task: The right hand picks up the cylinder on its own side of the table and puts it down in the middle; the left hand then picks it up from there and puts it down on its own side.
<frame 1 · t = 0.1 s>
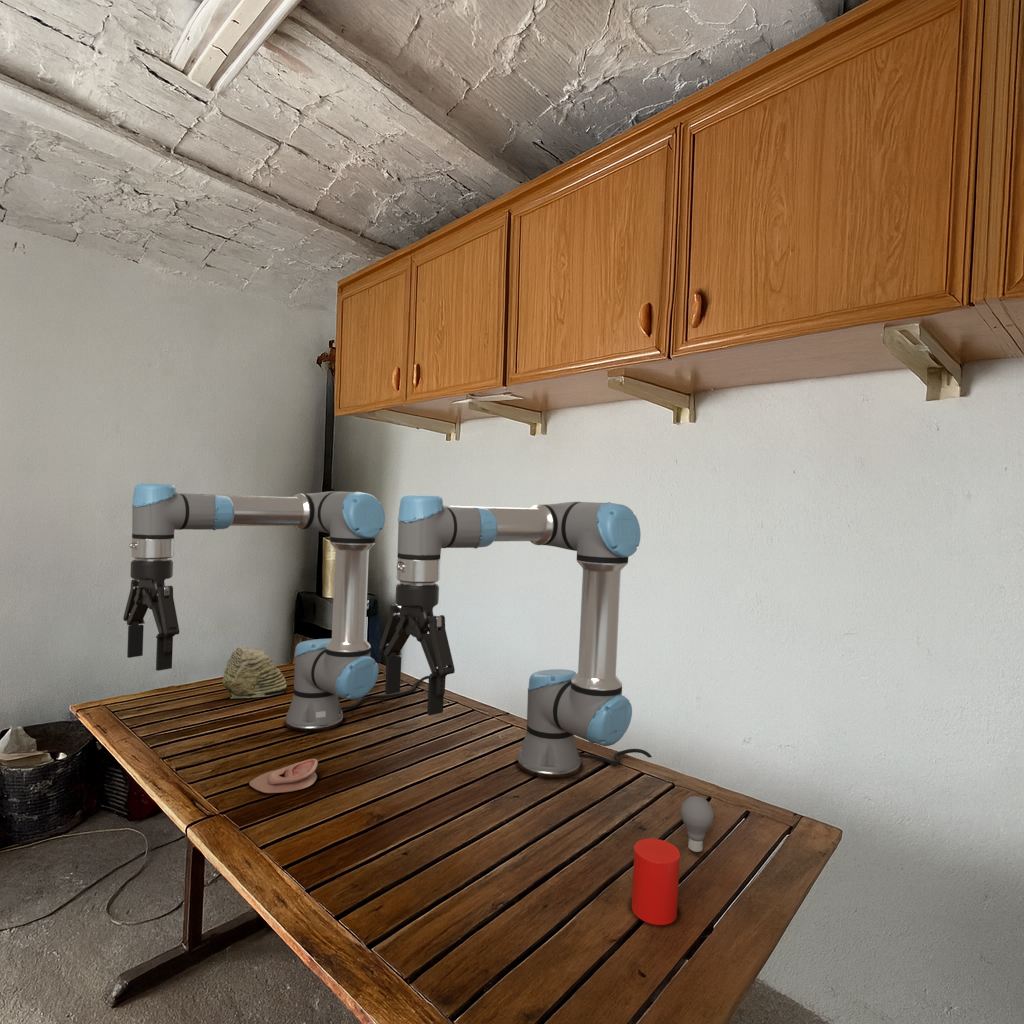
left hand: (148, 662, 129), 28 cm above the table, tool pointing down, fingers open, 13 cm apart
right hand: (412, 702, 111), 28 cm above the table, tool pointing down, fingers open, 13 cm apart
light bulb: (695, 851, 119), on the table
anatomical model: (283, 783, 139), on the table
cylinder: (654, 910, 101), on the table
fossil: (254, 694, 198), on the table
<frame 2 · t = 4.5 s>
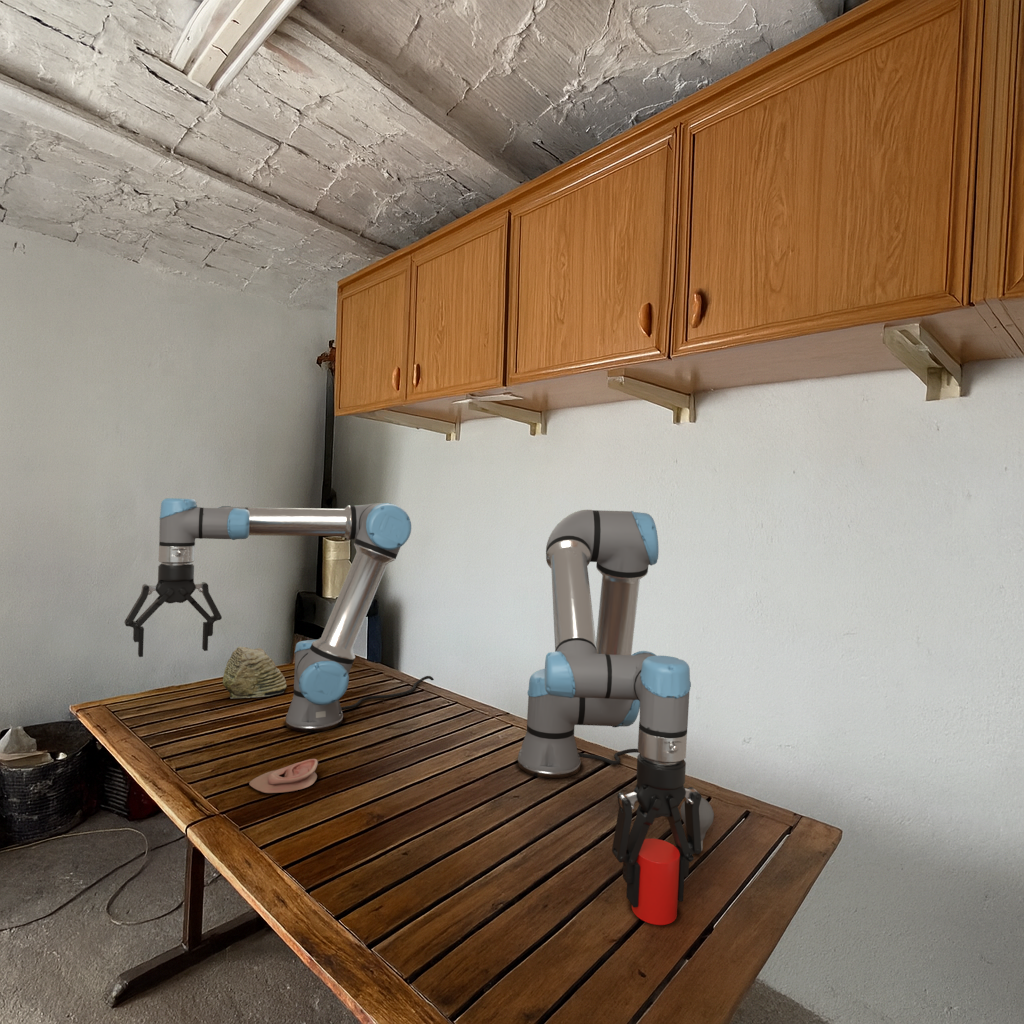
left hand: (173, 652, 150), 25 cm above the table, tool pointing down, fingers open, 13 cm apart
right hand: (654, 898, 101), 2 cm above the table, tool pointing down, fingers closed on cylinder, 7 cm apart
cylinder: (654, 910, 101), on the table, touching right hand
everything else where it was.
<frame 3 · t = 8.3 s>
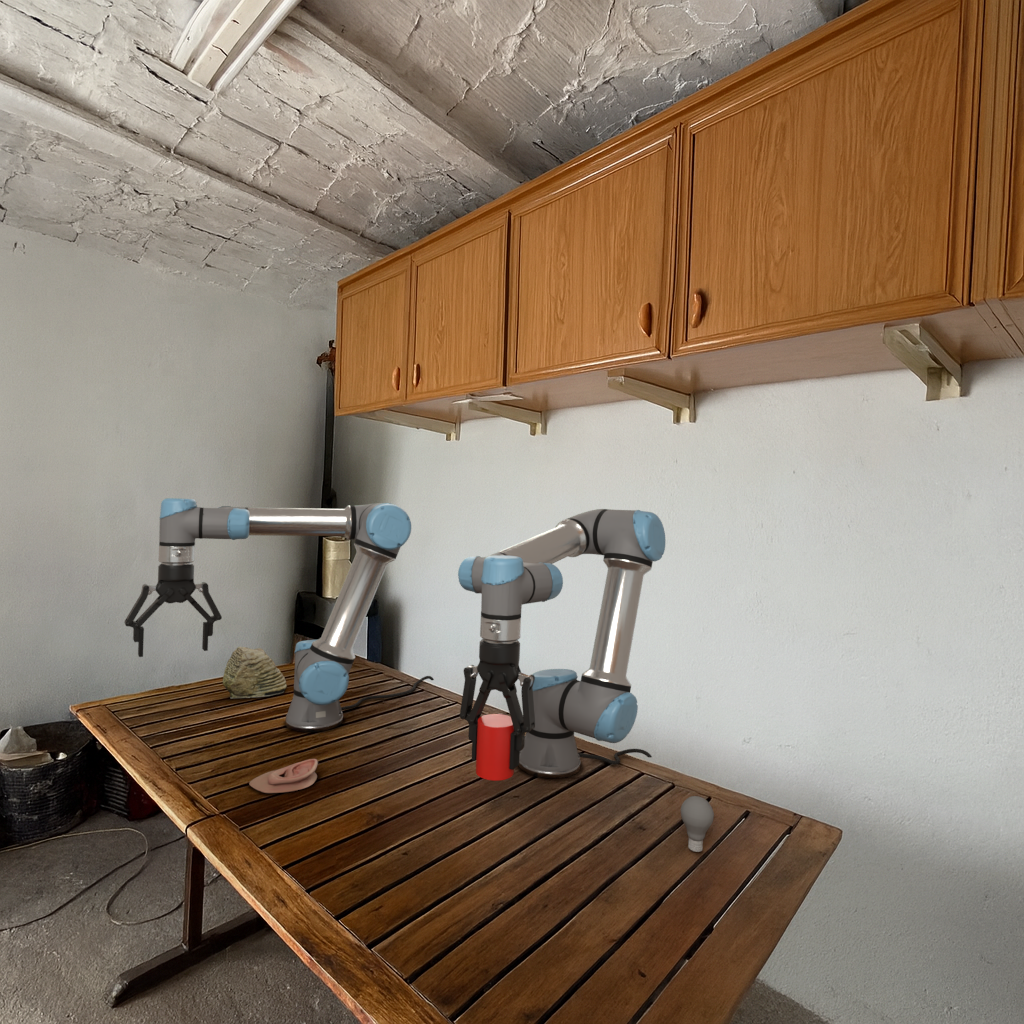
left hand: (173, 652, 150), 25 cm above the table, tool pointing down, fingers open, 13 cm apart
right hand: (495, 762, 118), 16 cm above the table, tool pointing down, fingers closed on cylinder, 7 cm apart
cylinder: (494, 772, 118), point 14 cm above the table, touching right hand
everything else where it was.
when the right hand's fingers open (4 cm above the table, at t = 11.9 s): cylinder drops 2 cm, on the table.
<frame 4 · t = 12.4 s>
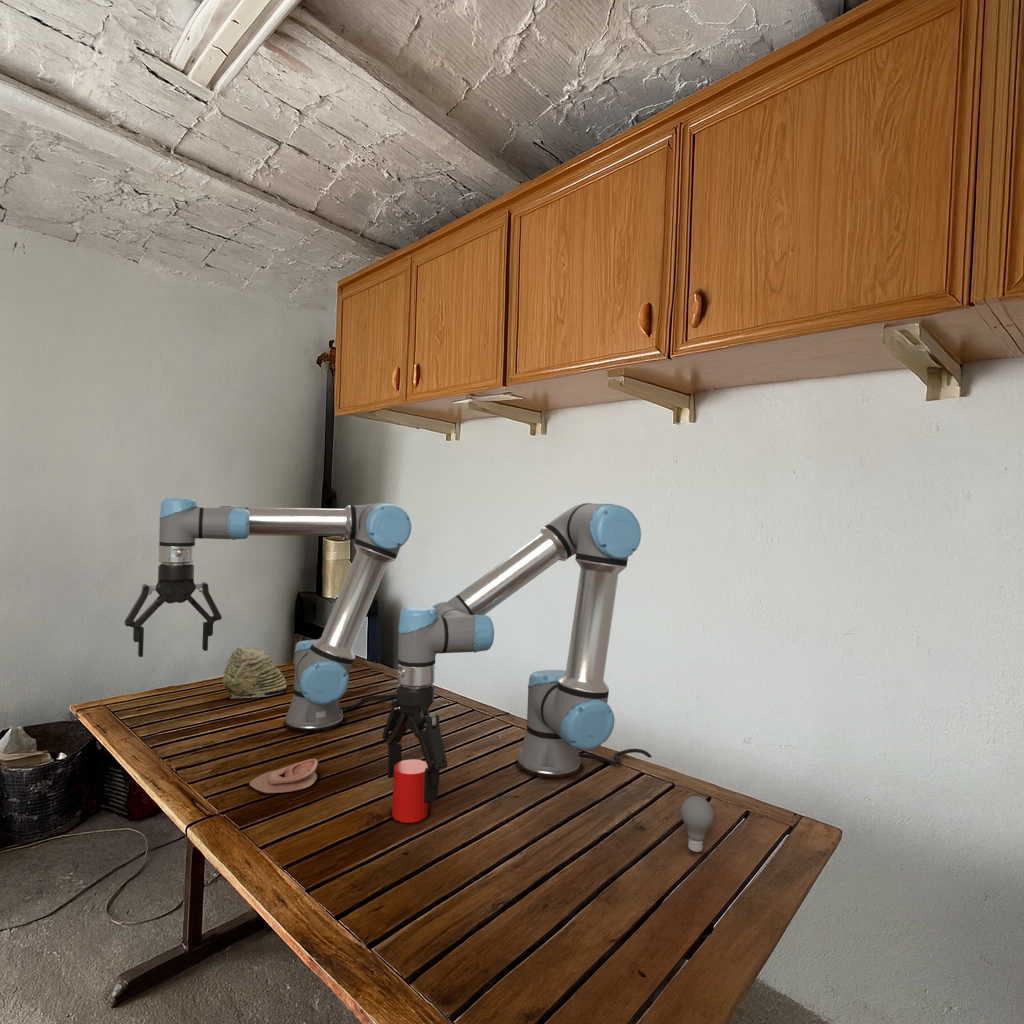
left hand: (173, 652, 150), 25 cm above the table, tool pointing down, fingers open, 13 cm apart
right hand: (411, 788, 128), 5 cm above the table, tool pointing down, fingers open, 13 cm apart
cylinder: (409, 813, 128), on the table
everything else where it was.
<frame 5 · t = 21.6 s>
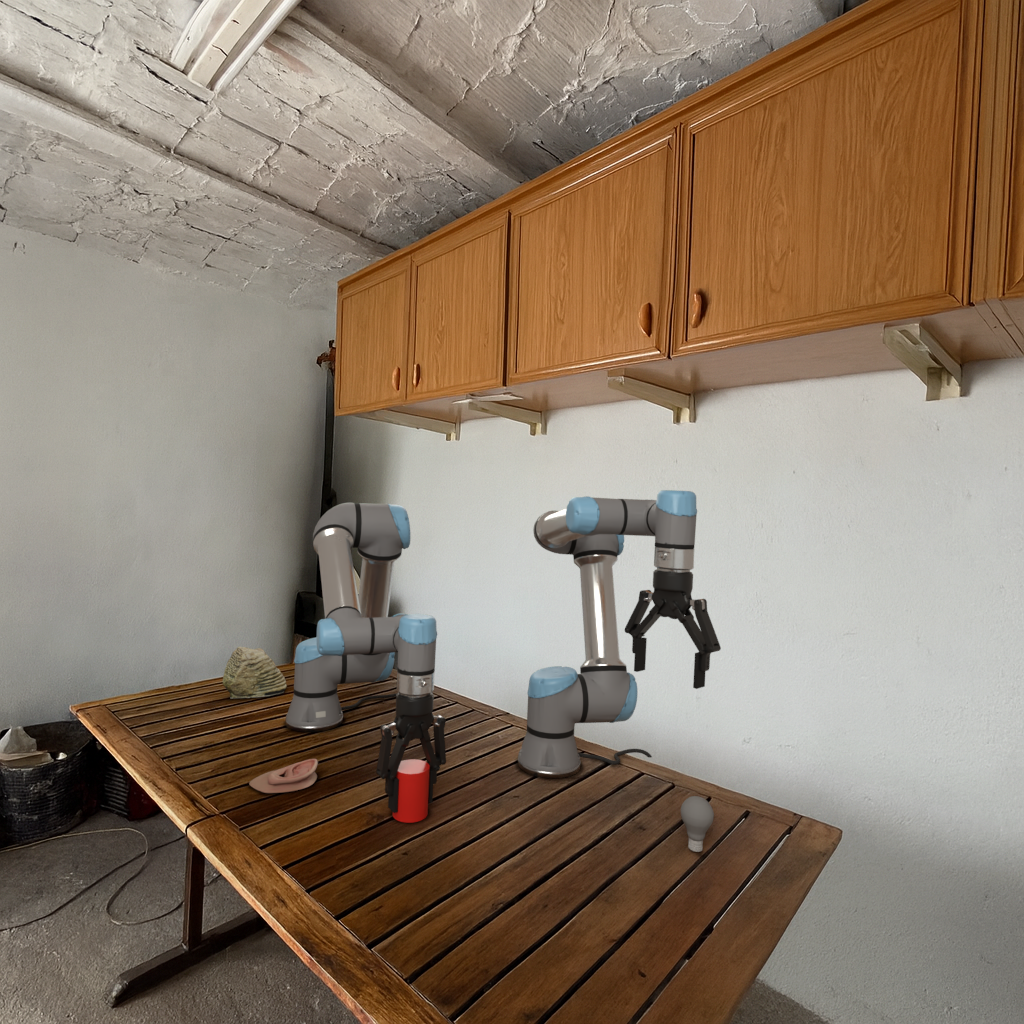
left hand: (410, 804, 128), 2 cm above the table, tool pointing down, fingers closed on cylinder, 7 cm apart
right hand: (668, 678, 123), 31 cm above the table, tool pointing down, fingers open, 13 cm apart
cylinder: (410, 813, 128), on the table, touching left hand
everything else where it was.
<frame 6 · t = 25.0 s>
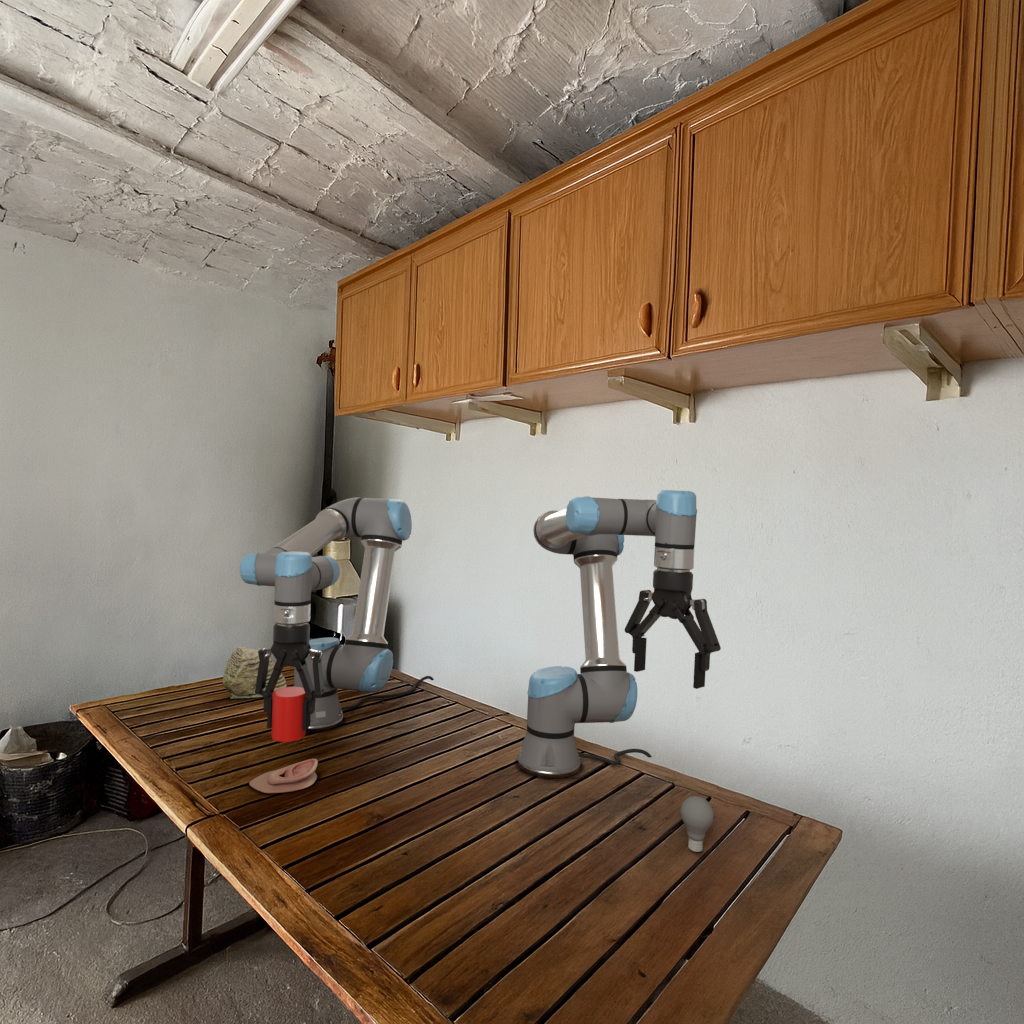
left hand: (288, 726, 139), 13 cm above the table, tool pointing down, fingers closed on cylinder, 7 cm apart
right hand: (668, 678, 123), 31 cm above the table, tool pointing down, fingers open, 13 cm apart
cylinder: (288, 735, 139), point 11 cm above the table, touching left hand
everything else where it was.
when the left hand's fingers open (4 cm above the table, at t = 28.7 s): cylinder drops 2 cm, on the table.
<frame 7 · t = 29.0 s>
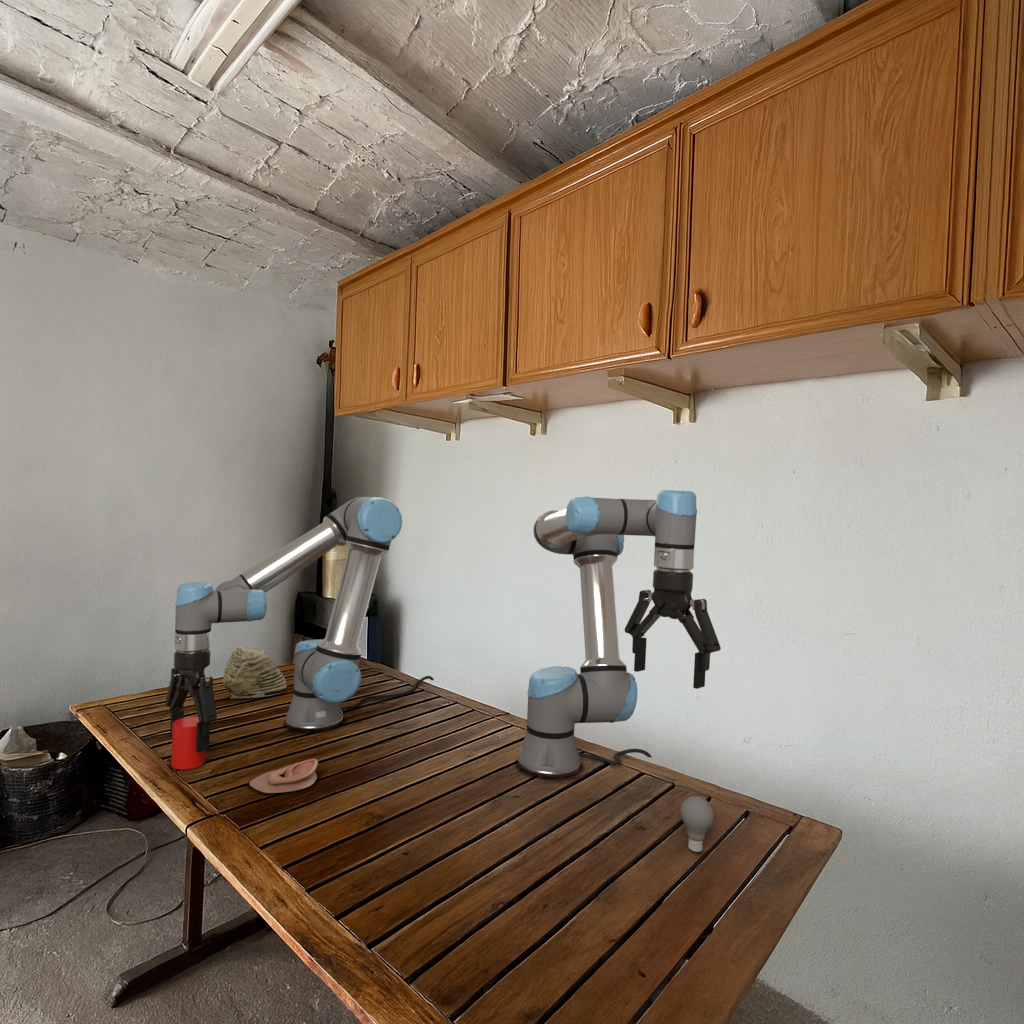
left hand: (189, 744, 147), 4 cm above the table, tool pointing down, fingers open, 10 cm apart
right hand: (668, 678, 123), 31 cm above the table, tool pointing down, fingers open, 13 cm apart
cylinder: (188, 763, 147), on the table
everything else where it was.
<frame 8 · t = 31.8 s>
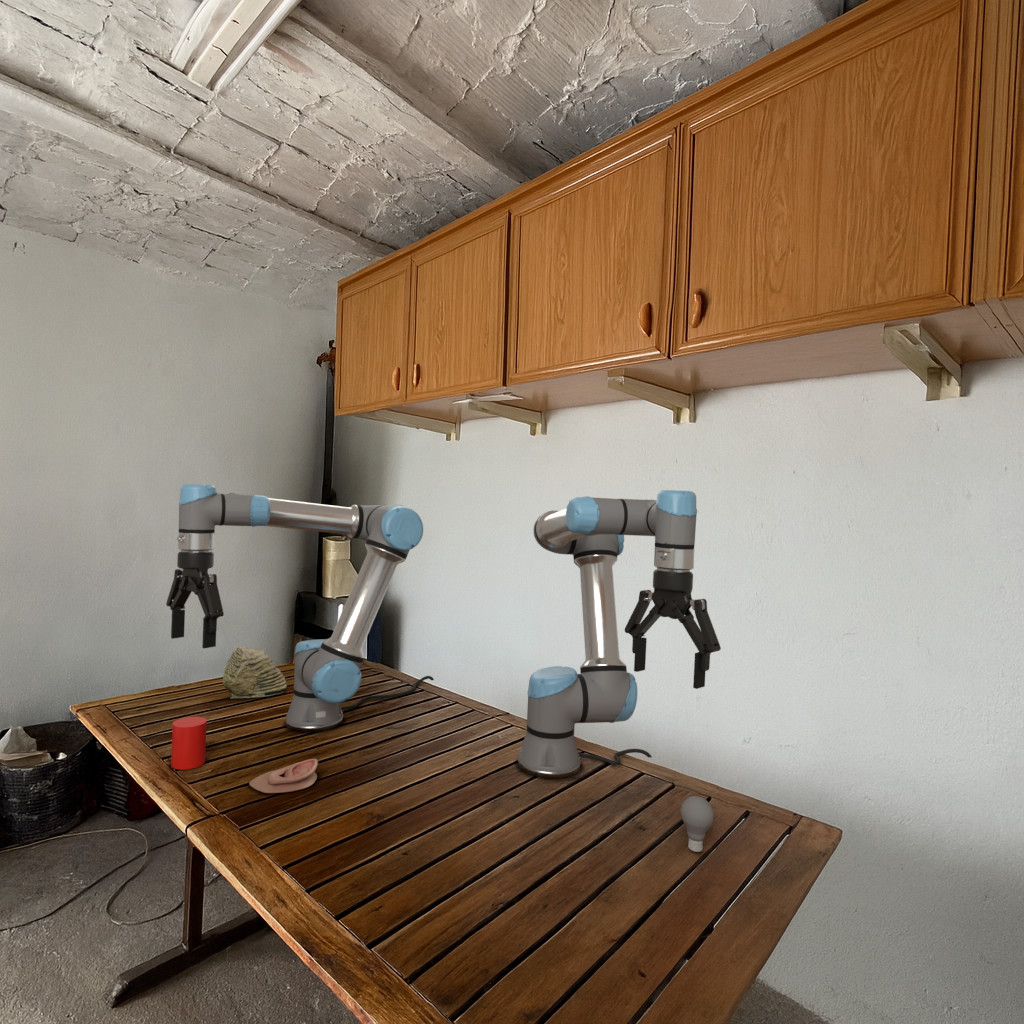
left hand: (192, 642, 147), 28 cm above the table, tool pointing down, fingers open, 13 cm apart
right hand: (668, 678, 123), 31 cm above the table, tool pointing down, fingers open, 13 cm apart
nothing on the table moved.
at the end: cylinder inside the target area (0.1 cm from its centre), on the table; cylinder tilted 0°; the two hands never held the cylinder at the same time; the left hand is holding nothing; the right hand is holding nothing; cylinder at rest at the end (0.0 cm/s) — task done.
